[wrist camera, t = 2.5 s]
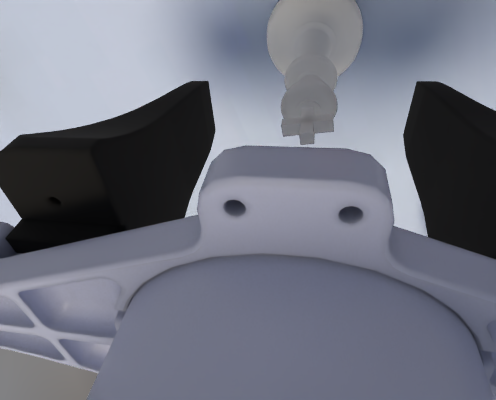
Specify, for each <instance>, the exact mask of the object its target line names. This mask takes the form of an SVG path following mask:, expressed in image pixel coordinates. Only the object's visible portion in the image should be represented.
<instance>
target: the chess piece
mask: <svg viewBox="0 0 496 400" xmlns="http://www.w3.org/2000/svg"><path fill="white" fill-rule="evenodd" d="M362 36H363V20H362V15H361V12H360V9H359V7H358V5H357V3H356V2H355V0H280V1H279V2H278V3H277V5H276V6H275V8H274V9H273V11H272V13H271V16H270V19H269V22H268V26H267V46H268V51H269V54H270V57H271V59H272V61H273V63H274V65H275V66H276V68H277V69H278V70H279V71H280V72H281V73H282V74H283V75H284V76H285V87H286V89H287V91H286V93H285V94H284V96H283V99H282V102H281V112H282V115H283V118H284V119H282V124H281V127H282V133H283V137H284V136H294V135H299V137H300V144H301V145H306V144H314V134H315V133H324V132H334V125H333V119H334V117H335V115H336V112H337V99H336V96H335V94H334V92H333V91H334V89H335V87H336V84H337V78H338V76H339V75H341V74H342V73H343V72H344V71H345V70H346V69H347V68H348V67H349V66H350V65H351V64H352V62H353V61H354V59H355V58H356V56H357V54H358V51H359V49H360V45H361V41H362Z"/></svg>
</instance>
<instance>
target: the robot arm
mask: <svg viewBox="0 0 496 400" xmlns="http://www.w3.org/2000/svg"><path fill="white" fill-rule="evenodd" d="M214 134H215V124H214V117H213V110H212V103H211V96H210V89H209V82H208V81H191V82H188V83H186V84H184V85H182V86H180V87H178V88H176V89H174V90H172V91H171V92H169V93H167V94H165V95H163V96H162V97H160V98H158V99H156V100H154V101H152V102H150V103H148V104H146V105H144V106H142V107H140V108H138V109H135V110H133V111H131V112H128V113H126V114H123V115H120V116H117V117H115V118H112V119H108V120H105V121H101V122H97V123H94V124H90V125H86V126H81V127H77V128H71V129H66V130H60V131H53V132H44V133H34V134H24V135H19V136H18V137H17V138H16V139H14V140H13V141H12V142H11V143H10V144H9V145H7V146H6V147H5V148H4V149H3V150H2V151H0V187H1V189H2V190H3V192H4V193H5V195H6V196H7V198H8V199H9V201H10V202H11V204H12V205H13V206H14V208H15V209H16V211H17V212H18V214H19V215H20V217H21V218H22V220H21V221H20V222H19V223H18V224H17V225H16V226H15V228H14V227H13V226H12V225H10V224H8V223H4V222H0V348H2V349H7V350H11V351H17V352H20V353H24V354H28V355H33V356H36V357H40V358H44V359H47V360H51V361H55V362H58V363H62V364H66V365H69V366H73V367H77V368H80V369H84V370H88V371H91V372H95V373H98V375H97V377H96V380H95V382H94V384H93V386H92V388H91V390H90V393H89V395H88V397H87V399H86V400H496V111H495V110H492V109H490V108H488V107H486V106H484V105H482V104H480V103H478V102H476V101H475V100H473V99H471V98H469V97H467V96H465V95H464V94H462V93H460V92H458V91H456V90H454V89H453V88H451V87H449V86H447V85H445V84H442V83H440V82H432V81H417V83H416V87H415V91H414V95H413V99H412V102H411V106H410V110H409V114H408V118H407V122H406V126H405V130H404V134H403V137H404V146H405V153H406V158H407V161H408V165H409V168H410V171H411V174H412V177H413V180H414V183H415V186H416V189H417V192H418V195H419V198H420V201H421V204H422V208H423V212H424V217H425V222H426V228H427V234H428V237H426V236H423V235H420V234H417V233H414V232H411V231H408V230H404V229H401V228H398V227H395V226H393V224H394V214H393V204H392V199H391V194H390V189H389V185H388V180H387V175H386V170H385V168H384V167H383V166H382V165H380V164H379V163H378V162H377V161H376V160H375V159H374V158H373V157H372V156H371V155H370V154H366V153H362V152H358V151H354V150H350V149H341V148H309V147H276V146H241V147H236V148H232V149H227V150H224V151H223V152H222V153H221V154H220V155H219V156H218V157H216V158H215V159H214V160H213V161H212V162H211V164H210V167H209V169H208V172H207V174H206V177H205V179H204V182H203V185H202V187H201V190H200V192H199V199H198V206H197V212H198V215H195V216H190V217H186V218H185V214H186V211H187V207H188V204H189V200H190V198H191V195H192V192H193V190H194V188H195V185H196V183H197V181H198V178H199V176H200V174H201V172H202V169H203V167H204V165H205V162H206V160H207V158H208V155H209V153H210V150H211V147H212V143H213V139H214Z"/></svg>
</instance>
